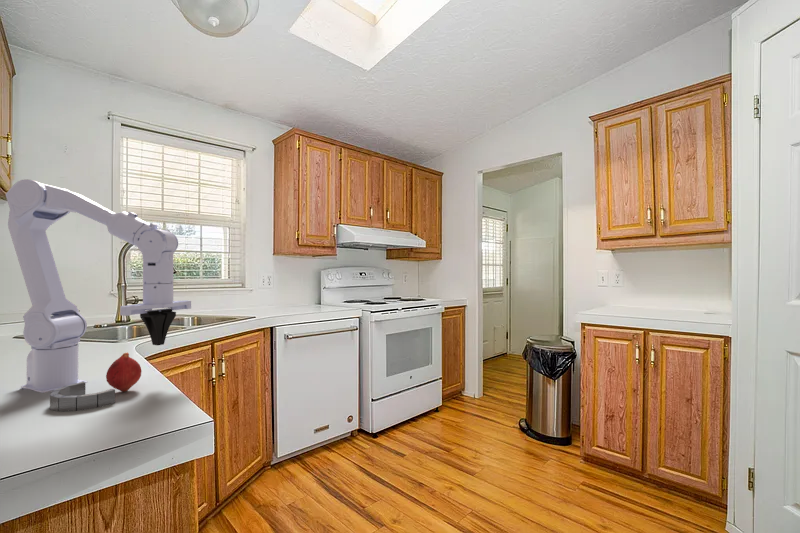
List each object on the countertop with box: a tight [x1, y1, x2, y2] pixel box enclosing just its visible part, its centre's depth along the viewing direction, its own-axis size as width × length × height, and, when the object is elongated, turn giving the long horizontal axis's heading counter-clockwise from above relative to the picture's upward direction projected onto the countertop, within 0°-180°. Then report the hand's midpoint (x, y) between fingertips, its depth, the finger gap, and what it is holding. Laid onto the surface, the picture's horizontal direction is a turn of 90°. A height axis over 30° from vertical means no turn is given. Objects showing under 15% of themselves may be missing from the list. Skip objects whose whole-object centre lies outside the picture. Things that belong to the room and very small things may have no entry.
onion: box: [105, 352, 143, 393], centre depth 78 cm, size 6×6×8 cm
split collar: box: [49, 382, 116, 413], centre depth 71 cm, size 11×7×3 cm, turn 65°
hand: (158, 344), depth 84 cm, fingers closed
